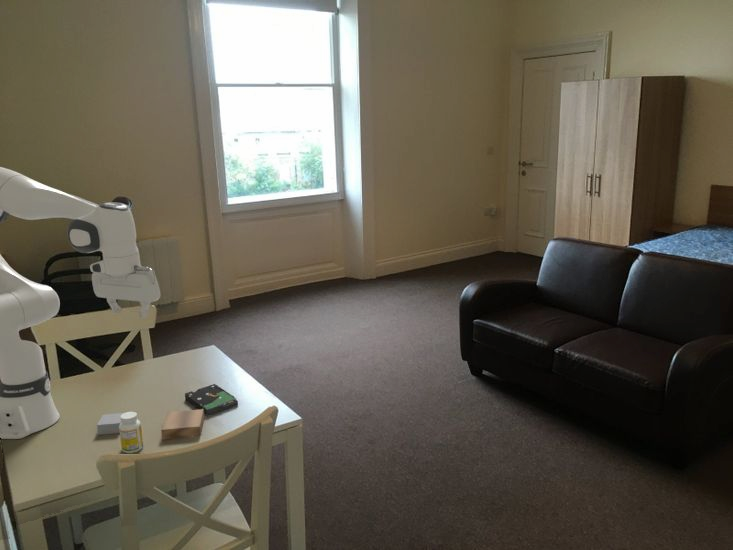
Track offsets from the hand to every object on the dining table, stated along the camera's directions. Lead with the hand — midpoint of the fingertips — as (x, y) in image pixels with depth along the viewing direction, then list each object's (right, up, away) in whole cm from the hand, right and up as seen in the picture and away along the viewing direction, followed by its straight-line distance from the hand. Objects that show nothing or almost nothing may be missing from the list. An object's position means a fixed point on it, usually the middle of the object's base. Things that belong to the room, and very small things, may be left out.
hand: (130, 314), depth 162 cm
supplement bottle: (+2, -35, -3) cm, 35 cm away
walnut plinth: (+12, -32, +6) cm, 35 cm away
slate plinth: (-8, -32, +8) cm, 34 cm away
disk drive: (+16, -29, +22) cm, 40 cm away
